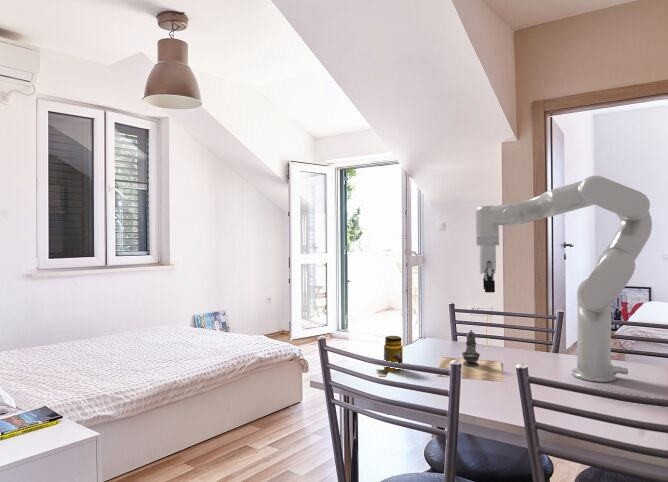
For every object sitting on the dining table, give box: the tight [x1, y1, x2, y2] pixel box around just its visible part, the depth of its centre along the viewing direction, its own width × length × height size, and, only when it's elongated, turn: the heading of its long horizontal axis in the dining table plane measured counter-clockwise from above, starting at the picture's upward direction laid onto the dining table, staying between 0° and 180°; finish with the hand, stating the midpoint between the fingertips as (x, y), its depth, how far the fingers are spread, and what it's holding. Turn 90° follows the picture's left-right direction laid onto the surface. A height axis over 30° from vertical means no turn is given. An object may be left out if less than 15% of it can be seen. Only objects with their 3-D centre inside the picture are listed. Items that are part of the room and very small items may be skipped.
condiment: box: [375, 335, 403, 377], centre depth 161 cm, size 7×8×12 cm
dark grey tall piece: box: [461, 329, 481, 367], centre depth 166 cm, size 6×6×12 cm
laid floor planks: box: [435, 368, 504, 383], centre depth 156 cm, size 20×10×1 cm, turn 73°
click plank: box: [438, 356, 503, 374], centre depth 167 cm, size 20×12×1 cm, turn 73°
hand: (489, 290), depth 171 cm, fingers open, 9 cm apart
